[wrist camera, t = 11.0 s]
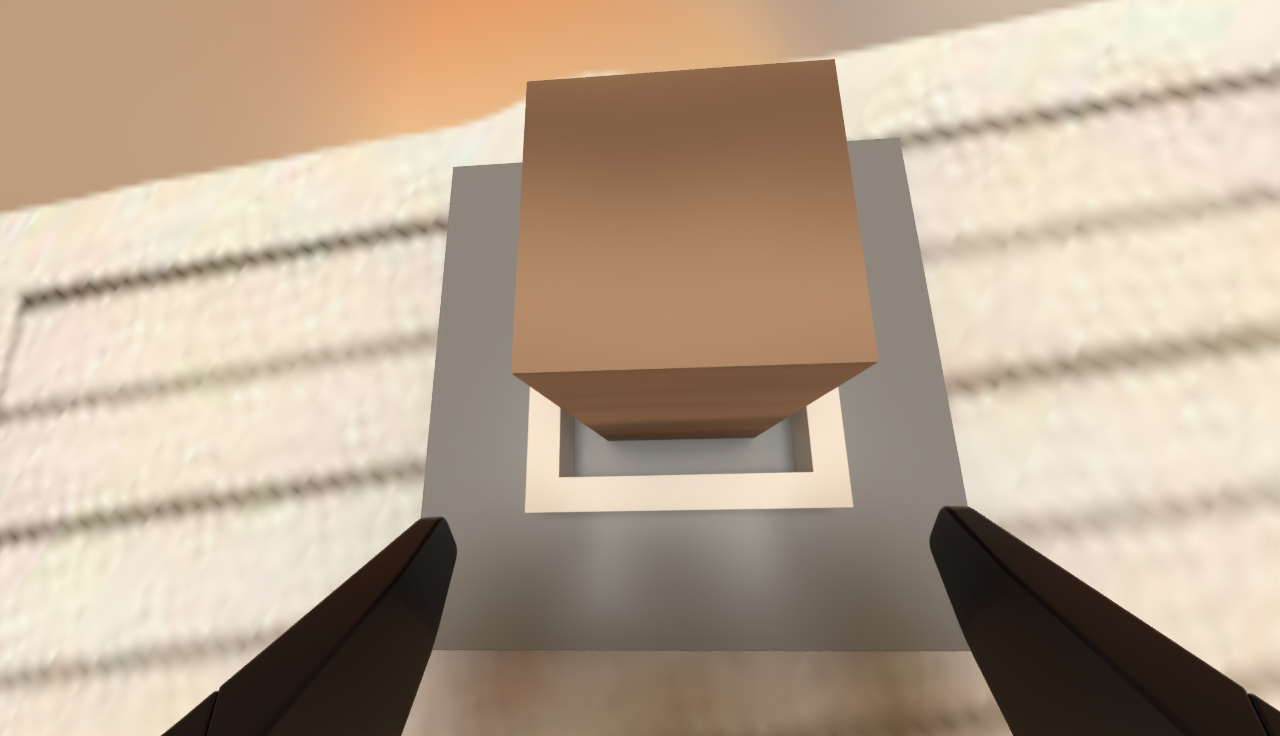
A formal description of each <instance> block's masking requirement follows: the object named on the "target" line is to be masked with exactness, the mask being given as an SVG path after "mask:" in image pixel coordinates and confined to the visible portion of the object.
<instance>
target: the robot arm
mask: <svg viewBox="0 0 1280 736" xmlns="http://www.w3.org/2000/svg"><path fill="white" fill-rule="evenodd" d="M929 545H930V550H931V553H932V555H933V558H934V561H935V563H936V566H937V568H938V571H939V574H940V576H941V579H942V581H943V584H944V587H945V589H946V592H947V594H948V597H949V600H950V602H951V605H952V607H953V610H954V613H955V615H956V618H957V621H958V623H959V626H960V628H961V630H962V633H963V635H964V638H965V640H966V642H967V644H968V646H969V648H970V650H971V652H972V654H973V656H974V658H975V660H976V662H977V664H978V666H979V668H980V670H981V672H982V674H983V676H984V678H985V680H986V682H987V684H988V686H989V688H990V690H991V692H992V694H993V696H994V698H995V700H996V702H997V704H998V706H999V708H1000V710H1001V712H1002V714H1003V716H1004V718H1005V720H1006V722H1007V724H1008V726H1009V728H1010V730H1011V732H1012V734H1013V736H1280V711H1279V710H1277V709H1276V708H1274V707H1272V706H1271V705H1269V704H1268V703H1266V702H1265V701H1263V700H1262V699H1260V698H1259V697H1257V696H1256V695H1254V694H1252V693H1247V692H1246V690H1245V689H1244V688H1243V687H1242V686H1240V685H1239V684H1237V683H1236V682H1234V681H1233V680H1231V679H1230V678H1228V677H1227V676H1225V675H1224V674H1222V673H1221V672H1219V671H1218V670H1216V669H1215V668H1213V667H1212V666H1210V665H1209V664H1207V663H1206V662H1204V661H1203V660H1201V659H1200V658H1198V657H1196V656H1195V655H1193V654H1192V653H1190V652H1189V651H1187V650H1186V649H1184V648H1183V647H1181V646H1180V645H1178V644H1177V643H1175V642H1174V641H1172V640H1171V639H1169V638H1168V637H1166V636H1165V635H1163V634H1162V633H1160V632H1159V631H1157V630H1156V629H1154V628H1153V627H1151V626H1150V625H1148V624H1147V623H1145V622H1144V621H1142V620H1140V619H1139V618H1137V617H1136V616H1134V615H1133V614H1131V613H1130V612H1128V611H1127V610H1125V609H1124V608H1122V607H1121V606H1119V605H1118V604H1116V603H1115V602H1113V601H1112V600H1110V599H1109V598H1107V597H1106V596H1104V595H1103V594H1101V593H1100V592H1098V591H1097V590H1095V589H1094V588H1092V587H1091V586H1089V585H1087V584H1086V583H1084V582H1083V581H1081V580H1080V579H1078V578H1077V577H1075V576H1074V575H1072V574H1071V573H1069V572H1068V571H1066V570H1065V569H1063V568H1062V567H1060V566H1059V565H1057V564H1056V563H1054V562H1053V561H1051V560H1050V559H1048V558H1047V557H1045V556H1044V555H1042V554H1041V553H1039V552H1038V551H1036V550H1035V549H1033V548H1031V547H1030V546H1028V545H1027V544H1025V543H1024V542H1022V541H1021V540H1019V539H1018V538H1016V537H1015V536H1013V535H1012V534H1010V533H1009V532H1007V531H1006V530H1004V529H1003V528H1001V527H1000V526H998V525H997V524H995V523H994V522H992V521H991V520H989V519H988V518H986V517H985V516H983V515H982V514H980V513H979V512H977V511H975V510H974V509H972V508H970V507H968V506H944V507H942V508H941V509H940V510H939V512H938V515H937V517H936V520H935V523H934V526H933V528H932V531H931V534H930V538H929ZM456 558H457V545H456V542H455V540H454V537H453V534H452V532H451V529H450V527H449V524H448V522H447V520H446V519H445V518H444V517H441V516H439V517H423V518H421V519H419V520H418V521H416V522H415V523H414V524H413V525H412V526H411V527H409V528H408V529H407V530H406V531H405V532H403V533H402V534H401V535H400V536H399V537H397V538H396V539H395V540H394V541H393V542H392V543H390V544H389V545H388V546H387V547H386V548H384V549H383V550H382V551H381V552H380V553H378V554H377V555H376V556H375V557H374V558H373V559H371V560H370V561H369V562H368V563H367V564H365V565H364V566H363V567H362V568H361V569H359V570H358V571H357V572H356V573H355V574H353V575H352V576H351V577H350V578H349V579H348V580H346V581H345V582H344V583H343V584H342V585H340V586H339V587H338V588H337V589H336V590H334V591H333V592H332V593H331V594H330V595H329V596H327V597H326V598H325V599H324V600H323V601H321V602H320V603H319V604H318V605H317V606H315V607H314V608H313V609H312V610H311V611H310V612H308V613H307V614H306V615H305V616H304V617H302V618H301V619H300V620H299V621H298V622H296V623H295V624H294V625H293V626H292V627H290V628H289V629H288V630H287V631H286V632H285V633H283V634H282V635H281V636H280V637H279V638H277V639H276V640H275V641H274V642H273V643H271V644H270V645H269V646H268V647H267V648H266V649H264V650H263V651H262V652H261V653H260V654H258V655H257V656H256V657H255V658H254V659H252V660H251V661H250V662H249V663H248V664H247V665H245V666H244V667H243V668H242V669H241V670H239V671H238V672H237V673H236V674H235V675H233V676H232V677H231V678H230V679H229V680H227V681H226V682H225V683H224V684H223V685H222V686H221V687H220V689H219V691H215V692H213V693H212V694H211V695H209V696H208V697H207V698H206V699H205V700H203V701H202V702H201V703H200V704H199V705H198V706H196V707H195V708H194V709H193V710H192V711H190V712H189V713H188V714H187V715H186V716H184V717H183V718H182V719H181V720H180V721H178V722H177V723H176V724H175V725H173V726H172V727H171V728H170V729H169V730H167V731H166V732H165V733H164V734H162V735H161V736H401V735H402V732H403V729H404V727H405V724H406V721H407V718H408V716H409V713H410V710H411V707H412V705H413V702H414V699H415V696H416V693H417V691H418V688H419V685H420V682H421V680H422V677H423V674H424V671H425V669H426V666H427V663H428V660H429V658H430V655H431V652H432V649H433V646H434V643H435V640H436V636H437V633H438V629H439V626H440V622H441V618H442V614H443V610H444V606H445V602H446V598H447V594H448V590H449V586H450V582H451V578H452V574H453V570H454V566H455V562H456Z"/></svg>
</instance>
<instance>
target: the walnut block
mask: <svg viewBox="0 0 1280 736" xmlns="http://www.w3.org/2000/svg"><path fill="white" fill-rule="evenodd" d="M878 362H879V359H878V352H877V345H876V338H875V331H874V325H873V318H872V311H871V304H870V297H869V290H868V284H867V277H866V270H865V263H864V256H863V249H862V243H861V236H860V229H859V222H858V215H857V209H856V202H855V195H854V188H853V181H852V174H851V168H850V161H849V154H848V147H847V140H846V134H845V127H844V120H843V113H842V106H841V99H840V93H839V86H838V79H837V72H836V65H835V59H831V60H818V61H804V62H790V63H777V64H763V65H749V66H735V67H722V68H708V69H694V70H681V71H668V72H653V73H639V74H626V75H612V76H598V77H585V78H571V79H557V80H544V81H531V82H527V93H526V110H525V129H524V147H523V165H522V183H521V201H520V220H519V238H518V256H517V274H516V292H515V310H514V329H513V347H512V365H511V374H513V375H514V376H516V377H517V378H518V379H520V380H521V381H523V382H524V383H526V384H527V385H528V386H530V387H531V388H533V389H534V390H536V391H537V392H539V393H540V394H541V395H543V396H544V397H546V398H547V399H549V400H550V401H551V402H553V403H554V404H556V405H557V406H559V407H560V408H562V409H563V410H564V411H566V412H567V413H569V414H570V415H572V416H573V417H574V418H576V419H577V420H579V421H580V422H582V423H583V424H584V425H586V426H587V427H589V428H590V429H592V430H593V431H595V432H596V433H597V434H599V435H600V436H602V437H603V438H605V439H606V440H607V441H635V440H680V439H726V438H755V437H757V436H758V435H760V434H761V433H763V432H765V431H766V430H768V429H770V428H771V427H773V426H775V425H776V424H778V423H779V422H781V421H783V420H784V419H786V418H788V417H789V416H791V415H793V414H794V413H796V412H797V411H799V410H801V409H802V408H804V407H806V406H807V405H809V404H811V403H812V402H814V401H815V400H817V399H819V398H820V397H822V396H824V395H825V394H827V393H829V392H830V391H832V390H833V389H835V388H837V387H838V386H840V385H842V384H843V383H845V382H847V381H848V380H850V379H851V378H853V377H855V376H856V375H858V374H860V373H861V372H863V371H865V370H866V369H868V368H869V367H871V366H873V365H874V364H876V363H878Z"/></svg>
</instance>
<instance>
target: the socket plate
mask: <svg viewBox="0 0 1280 736" xmlns="http://www.w3.org/2000/svg"><path fill="white" fill-rule="evenodd" d="M847 147H848V154H849V161H850V168H851V174H852V181H853V188H854V195H855V202H856V209H857V215H858V222H859V229H860V236H861V243H862V249H863V256H864V263H865V270H866V277H867V284H868V290H869V297H870V304H871V311H872V318H873V325H874V331H875V338H876V345H877V352H878V359H879V362H878V363H876V364H874V365H873V366H871V367H869V368H868V369H866V370H865V371H863V372H861V373H860V374H858V375H856V376H855V377H853V378H851V379H850V380H848V381H847V382H845V383H843V384H842V385H840V386H838V387H837V388H835V389H833V390H832V391H830V392H829V393H827V394H825V395H824V396H822V397H820V398H819V399H817V400H815V401H814V402H812V403H811V404H809V405H807V406H806V407H804V408H802V409H801V410H799V411H797V412H796V413H794V414H793V415H791V416H789V417H788V418H786V419H784V420H783V421H781V422H779V423H778V424H776V425H775V426H773V427H771V428H770V429H768V430H766V431H765V432H763V433H761V434H760V435H758V436H757V437H755V438H726V439H680V440H635V441H607V440H606V439H605V438H603V437H602V436H600V435H599V434H597V433H596V432H595V431H593V430H592V429H590V428H589V427H587V426H586V425H584V424H583V423H582V422H580V421H579V420H577V419H576V418H574V417H573V416H572V415H570V414H569V413H567V412H566V411H564V410H563V409H562V408H560V407H559V406H557V405H556V404H554V403H553V402H551V401H550V400H549V399H547V398H546V397H544V396H543V395H541V394H540V393H539V392H537V391H536V390H534V389H533V388H531V387H530V386H528V385H527V384H526V383H524V382H523V381H521V380H520V379H518V378H517V377H516V376H514V375H513V374H511V365H512V347H513V329H514V310H515V292H516V274H517V256H518V238H519V220H520V201H521V183H522V165H523V163H508V164H492V165H477V166H462V167H453V177H452V188H451V198H450V209H449V220H448V231H447V242H446V252H445V263H444V274H443V285H442V296H441V306H440V317H439V328H438V339H437V350H436V360H435V371H434V382H433V393H432V404H431V414H430V425H429V436H428V447H427V458H426V468H425V479H424V490H423V501H422V512H421V518H423V517H439V516H441V517H444V518H445V519H446V520H447V522H448V524H449V527H450V529H451V532H452V534H453V537H454V540H455V542H456V545H457V558H456V562H455V566H454V570H453V574H452V578H451V582H450V586H449V590H448V594H447V598H446V602H445V606H444V610H443V614H442V618H441V622H440V626H439V629H438V633H437V636H436V640H435V643H434V646H433V649H432V650H666V651H971V650H970V648H969V646H968V644H967V642H966V640H965V638H964V635H963V633H962V630H961V628H960V626H959V623H958V621H957V618H956V615H955V613H954V610H953V607H952V605H951V602H950V600H949V597H948V594H947V592H946V589H945V587H944V584H943V581H942V579H941V576H940V574H939V571H938V568H937V566H936V563H935V561H934V558H933V555H932V553H931V550H930V545H929V538H930V534H931V531H932V528H933V526H934V523H935V520H936V517H937V515H938V512H939V510H940V509H941V508H942V507H944V506H967V500H966V495H965V490H964V484H963V479H962V473H961V468H960V463H959V457H958V452H957V446H956V441H955V436H954V430H953V425H952V419H951V414H950V409H949V403H948V398H947V392H946V387H945V382H944V376H943V371H942V366H941V360H940V355H939V349H938V344H937V339H936V333H935V328H934V322H933V317H932V312H931V306H930V301H929V295H928V290H927V285H926V279H925V274H924V268H923V263H922V258H921V252H920V247H919V241H918V236H917V231H916V225H915V220H914V214H913V209H912V204H911V198H910V193H909V187H908V182H907V177H906V171H905V166H904V160H903V155H902V150H901V144H900V139H899V138H890V139H875V140H859V141H847Z"/></svg>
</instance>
